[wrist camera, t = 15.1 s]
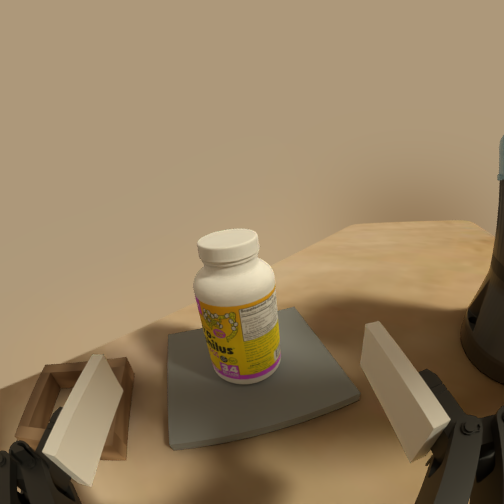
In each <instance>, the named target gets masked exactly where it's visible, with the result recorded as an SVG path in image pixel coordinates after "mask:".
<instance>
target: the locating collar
mask: <svg viewBox="0 0 504 504" xmlns="http://www.w3.org/2000/svg"><path fill="white" fill-rule="evenodd" d="M107 362H108V364H109V366H110V368H111V369H112V371H113V373H114V375H115V377H116V379H117V380H118V382H119V384H120V386H121V387H122V389H123V393H122V396H121V398H120V401H119V404H118V407H117V409H116V412H115V415H114V418H113V421H112V423H111V426H110V429H109V432H108V435H107V438H106V441H105V444H104V447H103V450H102V453H101V457H100V460H126V457H127V440H128V427H129V416H130V406H131V397H132V389H133V382H134V372H133V370H132V368H131V366H130V364H129V362H128V360H127V357H123V358H116V359H107ZM87 363H88V362H78V363H66V364H51V365H45V367H44V369H43V371H42V373H41V375H40V377H39V379H38V381H37V383H36V385H35V387H34V390H33V392H32V394H31V396H30V399H29V401H28V403H27V406H26V408H25V410H24V413H23V415H22V418H21V421H20V423H19V426H18V428H17V431H16V434H15V437H16V438H17V439H18V440H22V441H25V442H26V443H27V444H28V445H29V446H30V447H31V448H32V449H33V450H34V451H35V450H36V448H37V446H38V444H39V442H40V439H41V437H42V435H43V433H44V431H45V429H47V428H46V427H47V425H48V423H49V420H50V417H51V414H52V411H53V408H54V405H55V402H56V399H57V396H58V394H59V391H60V388H74V386H75V384H76V382H77V380H78V378H79V377H80V375H81V373H82V371H83V370H84V368H85V366H86V364H87Z"/></svg>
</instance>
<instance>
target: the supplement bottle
mask: <svg viewBox="0 0 504 504" xmlns="http://www.w3.org/2000/svg"><path fill="white" fill-rule="evenodd" d="M197 247H198V253H199V257H200V259H201V260H202V262H203V263H204V267H203V268H201V270H199V271H198V273H197V274H196V276H195V279H194V283H193V288H194V293H195V297H196V301H197V305H198V310H199V314H200V318H201V322H202V327H203V331H204V334H205V338H206V342H207V346H208V350H209V354H210V357H211V361H212V364H213V367H214V370H215V371H216V373H217V374H218V375H219V376H220V377H221V378H223V379H224V380H226V381H228V382H231V383H235V384H252V383H257V382H260V381H262V380H264V379H266V378H267V377H269V376H270V375H272V374H273V373H274V372H275V371H276V369H277V368H278V366H279V364H280V360H281V349H280V336H279V323H278V312H277V300H276V288H275V276H274V272H273V270H272V268H271V267H270V265H269V264H267V263H266V262H265V261H263V260H262V259H259V258H258V256H257V255H258V251H259V241H258V235H257V233H256V232H255V231H253V230H249V229H228V230H222V231H218V232H214V233H211V234H209V235H206V236H204V237H202V238H201V239H199V241H198V242H197Z"/></svg>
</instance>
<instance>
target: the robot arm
mask: <svg viewBox="0 0 504 504" xmlns="http://www.w3.org/2000/svg"><path fill="white" fill-rule="evenodd" d="M499 154H500V155H499V157H500V158H499V174H498V176H497V178H498V180H500V189H499V207H498V218H497V228H496V235H495V242H494V248H493V255H492V260H491V265H490V269H489V272H488V274H487V276H486V278H485V279H484V281H483V283H482V285H481V287H480V288H479V290H478V292H477V294H476V295H475V297H474V299H473V300H472V302H471V304H470V305H469V307H468V309H467V311H466V314H465V317H464V321H463V324H462V327H461V333H460V334H461V342H462V346H463V348H464V350H465V352H466V354H467V356H468V357H469V359H470V360H471V361H472V362H473V364H474V365H475V366H476V367H477V368H478V369H479V370H481V371H482V372H483V373H484V374H486V375H487V376H489V377H490V378H492V379H494V380H496V381H498V382H500V383H503V384H504V135H503V137H502V138H501V141H500V146H499ZM360 366H361V368H362V370H363V372H364V373H365V375H366V377H367V379H368V381H369V383H370V385H371V387H372V388H373V390H374V392H375V394H376V396H377V398H378V400H379V402H380V404H381V406H382V408H383V409H384V411H385V413H386V415H387V417H388V419H389V421H390V423H391V425H392V427H393V429H394V431H395V433H396V435H397V437H398V439H399V441H400V443H401V445H402V447H403V449H404V452H405V454H406V456H407V458H408V460H409V462H410V463H411V462H413V461H416V460H418V459H420V458H422V457H424V456H426V454H427V453H428V452H429V451H430V449H431V451H432V453H433V455H432V456H431V458H430V459H429V460H428V461H427V463H426V465H425V466H428V465H429V467H428V470H427V473H426V476H425V479H424V482H423V484H422V487H421V490H420V492H419V495H418V497H417V499H416V502H415V504H468V502H469V498H470V504H504V406H502V407H501V408H500V409H499V410H498V411H497V413H496V414H495V415H491V416H488V417H484V418H479V419H478V418H477V417H476V416H473V415H466V414H465V413H464V411H463V410H462V409H461V407H460V406H459V405H458V403H457V402H456V400H455V399H454V398H453V396H452V395H451V394H450V392H449V391H447V388H446V387H445V385H444V384H442V381H441V380H440V379H439V378H438V376H437V375H436V374H435V373H433V372H431V371H430V370H428V369H425V370H423V371H420V372H417V370H416V369H415V368H414V366H413V365H412V363H411V362H410V361H409V359H408V358H407V357H406V355H405V354H404V353H403V351H402V350H401V349H400V347H399V346H398V345H397V343H396V342H395V341H394V339H393V338H392V337H391V336H390V334H389V333H388V332H387V330H386V329H385V328H384V326H383V325H382V324H381V323H380V321H376V322H372V323H368V324H365V331H364V339H363V347H362V354H361V361H360ZM122 393H123V389H122V387H121V386H120V384H119V382H118V380H117V379H116V377H115V375H114V373H113V371H112V369H111V368H110V366H109V364H108V362H107V360H106V358H105V356H104V354H92V356H91V357H90V359H89V361H88V363H87V364H86V366H85V368H84V370H83V371H82V373H81V375H80V377H79V378H78V380H77V382H76V384H75V386H74V388H73V389H72V391H71V393H70V395H69V397H68V399H67V401H66V403H65V405H64V407H59V408H58V409H57V410H56V411H55V412H54V413H53V415H52V417H51V419H50V423H48V425H47V427H46V428H47V429H45V431H44V433H43V435H42V437H41V439H40V442H39V444H38V446H37V448H36V450H35V451H34V450H33V449H32V448H31V447H30V446H29V445H28V444H27V443H26V442H25V441H22V440H19V441H16V442H14V443H13V444H12V445H11V446H10V449H9V454H8V453H7V452H6V451H0V504H82V503H81V501H80V499H79V497H78V495H77V493H76V490H75V488H74V486H73V484H72V483H71V482H70V480H71V478H72V479H74V480H75V481H76V482H78V483H79V484H83V485H86V486H89V487H92V484H93V480H94V477H95V473H96V470H97V466H98V463H99V460H100V457H101V453H102V450H103V447H104V444H105V441H106V438H107V435H108V432H109V429H110V426H111V423H112V421H113V418H114V415H115V412H116V409H117V407H118V404H119V401H120V398H121V396H122ZM429 463H430V464H429ZM17 487H19V488H20V489H21V493H19V492H18V491H17Z"/></svg>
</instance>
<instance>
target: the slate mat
mask: <svg viewBox="0 0 504 504" xmlns="http://www.w3.org/2000/svg"><path fill="white" fill-rule="evenodd" d="M277 312H278V323H279V336H280V349H281V360H280V364H279V366H278V368H277V369H276V371H275V372H274V373H273V374H272V375H270V376H269V377H267V378H266V379H264V380H262V381H260V382H257V383H252V384H235V383H231V382H228V381H226V380H224V379H223V378H221V377H220V376H219V375H218V374H217V373H216V371H215V370H214V367H213V364H212V361H211V357H210V354H209V350H208V346H207V342H206V338H205V334H204V331H203V328H201V329H196V330H191V331H185V332H180V333H175V334H169V335H168V427H169V445H170V446H171V448H172V449H173V450H182V449H190V448H197V447H204V446H210V445H215V444H221V443H226V442H231V441H236V440H240V439H245V438H249V437H253V436H257V435H261V434H265V433H268V432H272V431H276V430H279V429H282V428H286V427H289V426H292V425H295V424H298V423H301V422H304V421H307V420H310V419H313V418H316V417H319V416H321V415H324V414H327V413H329V412H332V411H334V410H337V409H339V408H342V407H344V406H346V405H349V404H351V403H353V402H356V401H358V400H359V398H360V394H361V393H360V392H359V390H358V389H357V388H356V386H355V385H354V384H353V382H352V381H351V380H350V379H349V377H348V376H347V375H346V373H345V372H344V371H343V369H342V368H341V367H340V366H339V364H338V363H337V362H336V360H335V359H334V358H333V357H332V355H331V354H330V353H329V351H328V350H327V349H326V347H325V346H324V345H323V344H322V342H321V341H320V340H319V338H318V337H317V336H316V334H315V333H314V332H313V331H312V329H311V328H310V327H309V325H308V324H307V323H306V322H305V320H304V319H303V318H302V316H301V315H300V314H299V312H298V311H297V310H296V309H295V307H291V308H287V309H284V310H280V311H277Z"/></svg>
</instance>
